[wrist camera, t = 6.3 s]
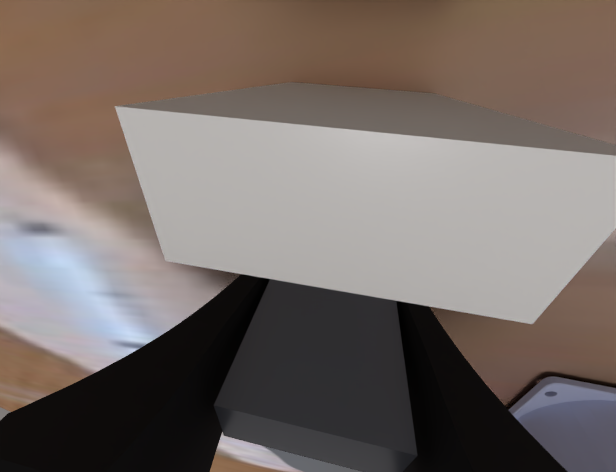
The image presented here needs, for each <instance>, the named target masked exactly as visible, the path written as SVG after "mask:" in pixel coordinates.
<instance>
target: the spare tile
mask: <svg viewBox="0 0 616 472" xmlns="http://www.w3.org/2000/svg"><path fill="white" fill-rule="evenodd" d="M214 408H215V411H216V413H217V416H218V419H219V422H220V425H221V428H222V431H223V434H224V436H228V437H231V438H235V439H239V440H243V441H247V442H251V443H254V444H258V445H262V446H266V447H270V448H274V449H278V450H282V451H285V452H289V453H293V454H297V455H300V456H304V457H308V458H312V459H316V460H320V461H324V462H328V463H331V464H335V465H339V466H343V467H347V468H350V469H354V470H358V471H362V472H403V471H404V470H405V469H406V467H407V466H408V465H409V464H410V463H411V462H412V461H413V460H414V459H415V458H416V457H417V449H416V441H415V434H414V427H413V420H412V412H411V405H410V398H409V390H408V383H407V376H406V368H405V361H404V354H403V347H402V339H401V332H400V325H399V317H398V310H397V303H396V301H395V300H389V299H383V298H378V297H372V296H366V295H360V294H354V293H349V292H343V291H337V290H331V289H325V288H320V287H314V286H308V285H302V284H296V283H291V282H285V281H279V280H273V279H270V280H269V282H268V285H267V287H266V289H265V291H264V294H263V296H262V298H261V300H260V303H259V305H258V307H257V309H256V312H255V314H254V316H253V318H252V321H251V323H250V325H249V327H248V330H247V332H246V334H245V336H244V339H243V341H242V343H241V345H240V347H239V350H238V352H237V354H236V356H235V359H234V361H233V363H232V365H231V368H230V370H229V372H228V374H227V377H226V379H225V381H224V383H223V386H222V388H221V390H220V392H219V395H218V397H217V399H216V401H215V404H214Z"/></svg>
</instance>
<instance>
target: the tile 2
mask: <svg viewBox="0 0 616 472" xmlns="http://www.w3.org/2000/svg"><path fill="white" fill-rule="evenodd" d="M115 108H116V111H117V114H118V117H119V120H120V123H121V126H122V129H123V133H124V136H125V139H126V142H127V145H128V148H129V151H130V154H131V157H132V160H133V163H134V166H135V169H136V172H137V175H138V179H139V182H140V185H141V188H142V191H143V194H144V197H145V200H146V203H147V206H148V209H149V212H150V215H151V218H152V221H153V224H154V228H155V231H156V234H157V237H158V240H159V243H160V246H161V249H162V252H163V255H164V258H165V261H169V262H175V263H180V264H186V265H192V266H198V267H204V268H209V269H215V270H221V271H227V272H233V273H238V274H244V275H250V276H256V277H262V278H267V279H273V280H279V281H285V282H291V283H296V284H302V285H308V286H314V287H320V288H325V289H331V290H337V291H343V292H349V293H354V294H360V295H366V296H372V297H378V298H383V299H389V300H395V301H401V302H407V303H413V304H418V305H424V306H430V307H436V308H442V309H447V310H453V311H459V312H465V313H471V314H476V315H482V316H488V317H494V318H500V319H505V320H511V321H517V322H523V323H529V324H533V323H534V322H535V321H536V319H537V318H538V317H539V316H540V315H541V314H542V313H543V311H544V310H545V309H546V308H547V307H548V306H549V304H550V303H551V302H552V301H553V300H554V299H555V298H556V296H557V295H558V294H559V293H560V292H561V291H562V289H563V288H564V287H565V286H566V285H567V284H568V283H569V281H570V280H571V279H572V278H573V277H574V276H575V275H576V273H577V272H578V271H579V270H580V269H581V268H582V266H583V265H584V264H585V263H586V262H587V261H588V260H589V258H590V257H591V256H592V255H593V254H594V253H595V251H596V250H597V249H598V248H599V247H600V246H601V245H602V243H603V242H604V241H605V240H606V239H607V238H608V237H609V235H610V234H611V233H612V232H613V231H614V230H615V228H616V145H614V144H611V143H607V142H604V141H600V140H597V139H593V138H590V137H586V136H583V135H579V134H576V133H572V132H569V131H565V130H562V129H558V128H555V127H551V126H547V125H544V124H540V123H537V122H533V121H530V120H526V119H523V118H519V117H516V116H512V115H509V114H505V113H502V112H498V111H495V110H491V109H488V108H484V107H481V106H477V105H474V104H470V103H467V102H463V101H460V100H456V99H453V98H449V97H446V96H442V95H439V94H435V93H424V92H411V91H398V90H386V89H373V88H361V87H348V86H335V85H323V84H310V83H298V82H289V83H281V84H274V85H267V86H259V87H252V88H245V89H238V90H230V91H223V92H216V93H208V94H201V95H194V96H187V97H179V98H172V99H165V100H158V101H150V102H143V103H136V104H128V105H121V106H115Z"/></svg>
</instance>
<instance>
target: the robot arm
mask: <svg viewBox="0 0 616 472" xmlns="http://www.w3.org/2000/svg"><path fill="white" fill-rule="evenodd" d="M269 280H270V279H267V278H262V277H256V276H250V275H244V274H241V275H240V276H239V277H238V278H237V279H235V280H234V281H233V282H232V283H231V284H230V285H228V286H227V287H226V288H225V289H224V290H223V291H221V292H220V293H219V294H218V295H217V296H215V297H214V298H213V299H212V300H210V301H209V302H208V303H206V304H205V305H204V306H203V307H201V308H200V309H199V310H197V311H196V312H195V313H193V314H192V315H191V316H189V317H188V318H186V319H185V320H184V321H182V322H181V323H179V324H178V325H176V326H175V327H173V328H172V329H170V330H169V331H167V332H166V333H164V334H163V335H161V336H160V337H158V338H156V339H155V340H153V341H151V342H150V343H148V344H146V345H145V346H143V347H141V348H140V349H138V350H136V351H135V352H133V353H131V354H129V355H128V356H126V357H124V358H122V359H120V360H119V361H117V362H115V363H113V364H111V365H109V366H107V367H105V368H103V369H102V370H100V371H98V372H96V373H94V374H92V375H90V376H88V377H86V378H84V379H82V380H80V381H78V382H76V383H74V384H72V385H70V386H68V387H66V388H63V389H61V390H59V391H57V392H55V393H53V394H50V395H48V396H46V397H44V398H42V399H39V400H37V401H35V402H33V403H31V404H29V405H26V406H24V407H22V408H20V409H17V410H15V411H13V412H11V413H8V414H7V415H6V416H5V417H4V418H3V419H2V420H1V421H0V472H209V471H210V468H211V465H212V462H213V459H214V455H215V452H216V449H217V446H218V443H219V440H220V437H221V434H222V428H221V425H220V422H219V419H218V416H217V413H216V411H215V408H214V404H215V401H216V399H217V397H218V395H219V392H220V390H221V388H222V386H223V383H224V381H225V379H226V377H227V374H228V372H229V370H230V368H231V365H232V363H233V361H234V359H235V356H236V354H237V352H238V350H239V347H240V345H241V343H242V341H243V339H244V336H245V334H246V332H247V330H248V327H249V325H250V323H251V321H252V318H253V316H254V314H255V312H256V309H257V307H258V305H259V303H260V300H261V298H262V296H263V294H264V291H265V289H266V287H267V285H268V282H269ZM396 303H397V310H398V317H399V325H400V332H401V339H402V347H403V354H404V361H405V368H406V376H407V383H408V390H409V398H410V405H411V412H412V420H413V427H414V434H415V441H416V449H417V457H416V458H415V459H414V460H413V461H412V462H411V463H410V464H409V465H408V466H407V467H406V469H405V470H404V471H403V472H616V388H613V387H608V386H602V385H597V384H592V383H587V382H581V381H576V380H571V379H566V378H561V377H554V376H552V377H546V378H544V379H542V380H541V381H540V382H539V383H538V384H537V385H536V386H534V387H533V388H532V389H531V390H530V391H529V392H528V393H527V394H525V395H524V396H523V397H522V398H521V399H520V400H519V401H518V402H517V403H515V404H514V405H513V406H512V407H511V408H510V409H509V410H508V409H507V408H506V407H505V406H504V405H503V403H502V402H501V401H500V400H499V399H498V398H497V397H496V395H495V394H494V393H493V392H492V391H491V390H490V389H489V387H488V386H487V385H486V384H485V383H484V382H483V380H482V379H481V378H480V377H479V375H478V374H477V373H476V372H475V370H474V369H473V368H472V367H471V365H470V364H469V363H468V361H467V360H466V359H465V358H464V356H463V355H462V354H461V352H460V351H459V349H458V348H457V347H456V345H455V344H454V343H453V341H452V340H451V338H450V337H449V336H448V334H447V333H446V331H445V330H444V329H443V327H442V326H441V324H440V323H439V321H438V320H437V318H436V317H435V315H434V314H433V312H432V311H431V309H430V308H429V306H424V305H418V304H413V303H407V302H401V301H396Z"/></svg>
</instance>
